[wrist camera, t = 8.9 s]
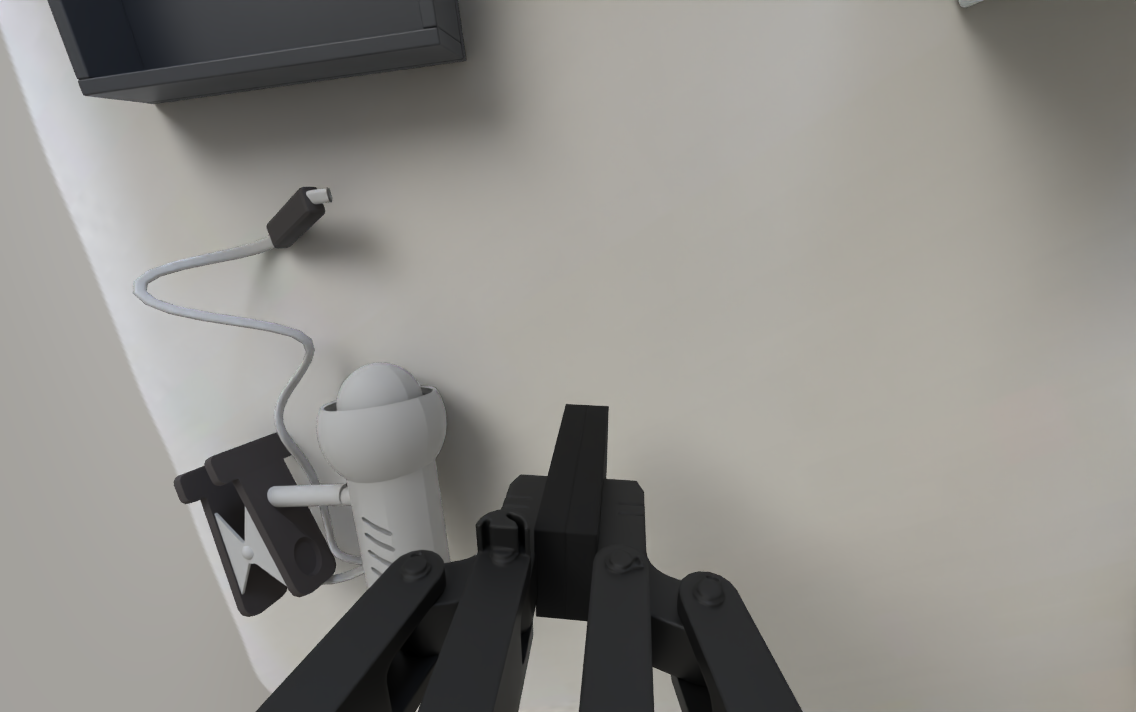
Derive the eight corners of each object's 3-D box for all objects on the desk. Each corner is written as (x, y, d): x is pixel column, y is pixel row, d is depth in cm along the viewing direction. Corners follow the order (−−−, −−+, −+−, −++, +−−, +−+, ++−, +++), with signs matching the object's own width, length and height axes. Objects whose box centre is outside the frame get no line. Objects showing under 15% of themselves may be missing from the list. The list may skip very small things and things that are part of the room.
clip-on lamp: (217, 231, 26) (286, 575, 28) (66, 216, 19) (169, 660, 22) (433, 189, 23) (492, 578, 25) (337, 157, 17) (425, 677, 19)
